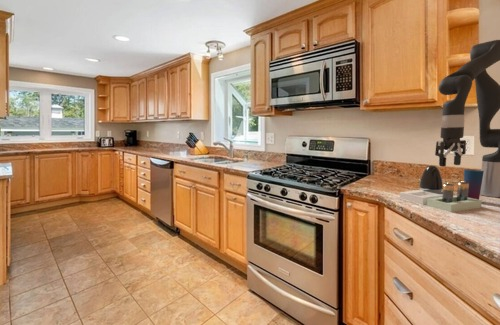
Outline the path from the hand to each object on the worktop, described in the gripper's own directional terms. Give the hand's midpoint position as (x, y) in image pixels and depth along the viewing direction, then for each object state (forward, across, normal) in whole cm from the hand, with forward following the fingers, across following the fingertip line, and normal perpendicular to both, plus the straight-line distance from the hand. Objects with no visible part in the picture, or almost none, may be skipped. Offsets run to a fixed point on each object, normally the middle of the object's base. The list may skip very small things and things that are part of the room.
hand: (449, 165), depth 110 cm
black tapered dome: (+19, -18, -21) cm, 33 cm away
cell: (+18, 0, 0) cm, 18 cm away
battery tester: (+18, -4, -13) cm, 23 cm away
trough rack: (+18, -4, 0) cm, 19 cm away
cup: (+19, -20, -3) cm, 28 cm away
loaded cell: (+18, -9, 0) cm, 20 cm away
